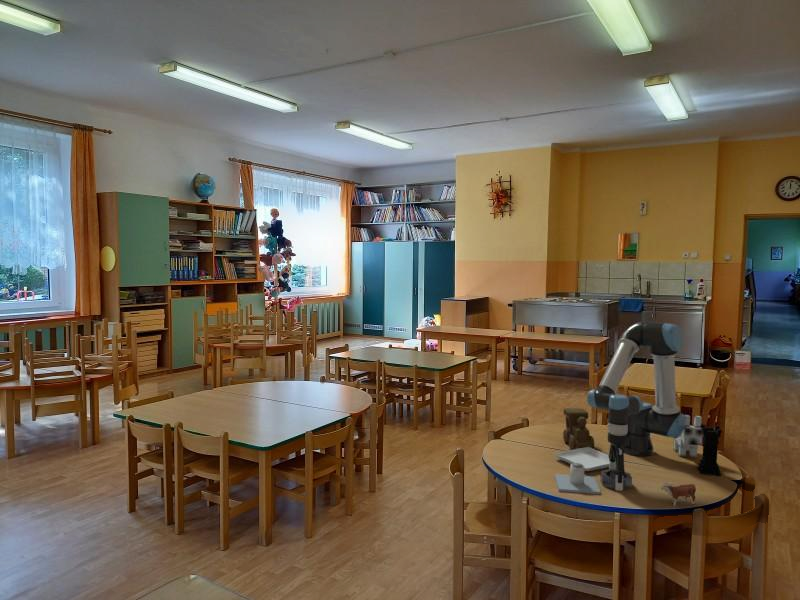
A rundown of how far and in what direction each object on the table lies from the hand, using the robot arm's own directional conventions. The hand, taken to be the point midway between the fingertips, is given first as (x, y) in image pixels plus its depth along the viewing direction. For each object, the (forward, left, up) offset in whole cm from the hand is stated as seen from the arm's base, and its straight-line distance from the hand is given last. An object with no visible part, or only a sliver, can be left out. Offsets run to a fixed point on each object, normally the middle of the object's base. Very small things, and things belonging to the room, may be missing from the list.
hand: (615, 483), depth 237 cm
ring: (0, 0, 0) cm, 0 cm away
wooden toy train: (+9, -47, 0) cm, 48 cm away
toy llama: (-40, -44, 0) cm, 59 cm away
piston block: (+16, +4, 0) cm, 16 cm away
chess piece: (-43, -22, 0) cm, 48 cm away
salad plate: (+8, -23, -1) cm, 24 cm away
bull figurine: (-20, +15, 0) cm, 25 cm away
